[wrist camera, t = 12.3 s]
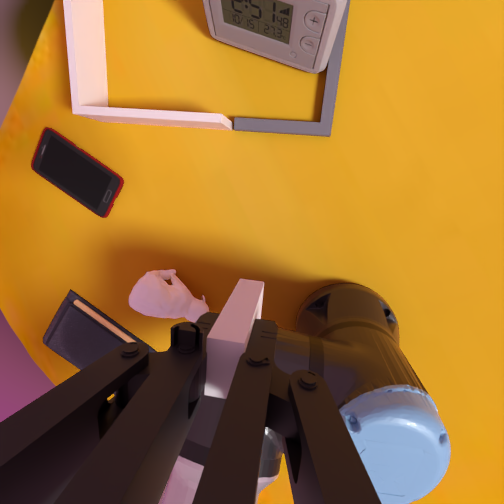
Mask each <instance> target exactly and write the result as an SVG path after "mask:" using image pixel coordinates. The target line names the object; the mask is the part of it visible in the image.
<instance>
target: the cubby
mask: <svg viewBox="0 0 504 504" xmlns="http://www.w3.org/2000/svg"><path fill="white" fill-rule="evenodd" d="M63 5H64V16H65V28H66V40H67V52H68V63H69V75H70V87H71V99H72V110H73V114H76V115H80V116H83V117H87V118H91V119H94V120H98V121H101V122H112V123H127V124H142V125H158V126H173V127H188V128H204V129H219V130H232V127H233V123H232V122H231V121H230V120H229V119H228V118H226V117H225V116H224V115H223V114H216V113H199V112H182V111H164V110H147V109H130V108H112V107H108V91H107V72H106V53H105V34H104V16H103V0H63Z"/></svg>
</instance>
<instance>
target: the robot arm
mask: <svg viewBox="0 0 504 504" xmlns="http://www.w3.org/2000/svg"><path fill="white" fill-rule="evenodd" d="M263 290H264V282H262V281H255V280H247V279H240V280H239V281H238V283H237V285H236V287H235V288H234V290H233V292H232V294H231V295H230V297H229V299H228V301H227V303H226V304H225V306H224V308H223V310H222V311H221V313H220V314H218V313H211V312H206V313H204V314H203V315H201V316H200V317H199V318H198V320H197V321H196V322H195V323H193V322H183V323H179V324H176V325H174V326H173V327H171V346H170V348H169V349H168V350H167V351H165V352H150V353H149V348H148V346H147V345H146V344H144V343H141V342H129V343H124V344H122V345H120V346H118V347H116V348H115V349H113V350H112V351H110V352H109V353H107V354H106V355H104V356H103V357H101V358H99V359H98V360H96V361H95V362H93V363H92V364H90V365H89V366H87V367H86V368H84V369H82V370H81V371H79V372H78V373H76V374H75V375H73V376H72V377H70V378H68V379H67V380H65V381H64V382H62V383H61V384H59V385H58V386H56V387H55V388H53V389H51V390H50V391H48V392H47V393H45V394H44V395H42V396H41V397H39V398H38V399H36V400H35V401H33V402H31V403H30V404H28V405H27V406H25V407H24V408H22V409H21V410H19V411H17V412H16V413H14V414H13V415H11V416H10V417H9V418H7V419H5V420H4V421H2V422H0V504H158V503H159V500H160V498H161V496H162V493H163V491H164V489H165V486H166V484H167V486H166V490H165V493H164V497H163V500H162V504H257V501H258V496H259V493H260V492H261V490H263V489H264V488H265V487H267V486H268V485H269V484H271V483H272V482H273V481H275V480H276V479H277V478H278V475H279V469H280V463H281V457H282V454H283V453H284V454H285V459H286V464H287V469H288V474H289V479H290V485H291V490H292V495H293V500H294V504H409V503H411V502H413V501H416V500H419V499H421V498H422V497H424V496H425V495H427V494H428V493H429V492H431V491H432V490H433V489H434V488H435V487H436V486H437V485H438V483H439V482H440V481H441V479H442V478H443V476H444V474H445V472H446V470H447V468H448V465H449V461H450V454H451V448H450V441H449V437H448V434H447V431H446V429H445V427H444V425H443V423H442V421H441V419H440V417H439V415H438V412H437V408H436V405H435V403H434V402H433V400H432V398H431V397H430V396H429V394H428V393H427V391H426V389H425V388H424V386H423V385H422V383H421V381H420V380H419V378H418V377H417V375H416V373H415V372H414V370H413V369H412V367H411V365H410V364H409V362H408V361H407V359H406V357H405V356H404V354H403V353H402V351H401V349H400V348H399V327H398V323H397V320H396V317H395V315H394V313H393V311H392V310H391V308H390V307H389V305H388V304H387V303H386V301H385V300H384V299H383V298H382V297H381V296H380V295H379V294H377V293H376V292H374V291H373V290H371V289H369V288H367V287H364V286H361V285H357V284H351V283H339V284H333V285H329V286H326V287H323V288H321V289H319V290H317V291H316V292H314V293H313V294H312V295H310V296H309V297H308V298H307V299H306V300H305V302H304V303H303V304H302V306H301V308H300V310H299V312H298V315H297V319H296V331H291V330H287V329H283V328H278V326H277V325H276V323H275V321H269V320H262V319H261V311H262V301H263ZM113 393H114V395H115V396H114V397H113V398H112V399H110V400H108V401H107V398H108V397H109V396H111V395H112V394H113ZM167 482H168V483H167Z"/></svg>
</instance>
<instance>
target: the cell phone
mask: <svg viewBox="0 0 504 504" xmlns="http://www.w3.org/2000/svg"><path fill="white" fill-rule="evenodd" d="M31 167H32V169H33V170H34V171H35V172H36V173H37V174H39V175H40V176H42V177H43V178H44V177H45V178H44V179H46V180H47V179H48V180H47V181H49V182H50V183H52V184H53V185H54V184H55V186H56V187H57V188H59V189H60V190H62V191H63V192H65V193H66V194H68V195H69V196H70V197H72V198H73V199H75V200H76V201H78V202H79V203H80V204H82V205H83V206H85V207H86V208H88V209H89V210H91V211H92V212H93V213H95V214H96V215H98V216H100V217H102V218H105V217H107V216H108V215H109V213H110V211H111V209H112V207H113V205H114V204H113V203H114V201H115V199H116V198H117V197H118V195H119V193H120V191H121V190H120V189H122V186H123V184H124V180H123V178H122V177H121V176H119V175H118V174H117V173H115V172H114V171H112V170H111V169H110V168H108V167H107V166H105V165H104V164H102V163H101V162H100V161H98V160H97V159H95V158H94V157H93V156H91V155H90V154H88V153H87V152H85V151H84V150H83V149H80V148H78V147H77V146H76V145H75V144H74V143H73V142H71V141H70V140H68V139H67V138H65V137H64V136H62V135H61V134H60V133H58V132H57V131H55V130H53V129H52V128H45V129H44V131H43V133H42V135H41V138H40V141H39V144H38V146H37V149H36V152H35V155H34V157H33V160H32V164H31Z"/></svg>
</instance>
